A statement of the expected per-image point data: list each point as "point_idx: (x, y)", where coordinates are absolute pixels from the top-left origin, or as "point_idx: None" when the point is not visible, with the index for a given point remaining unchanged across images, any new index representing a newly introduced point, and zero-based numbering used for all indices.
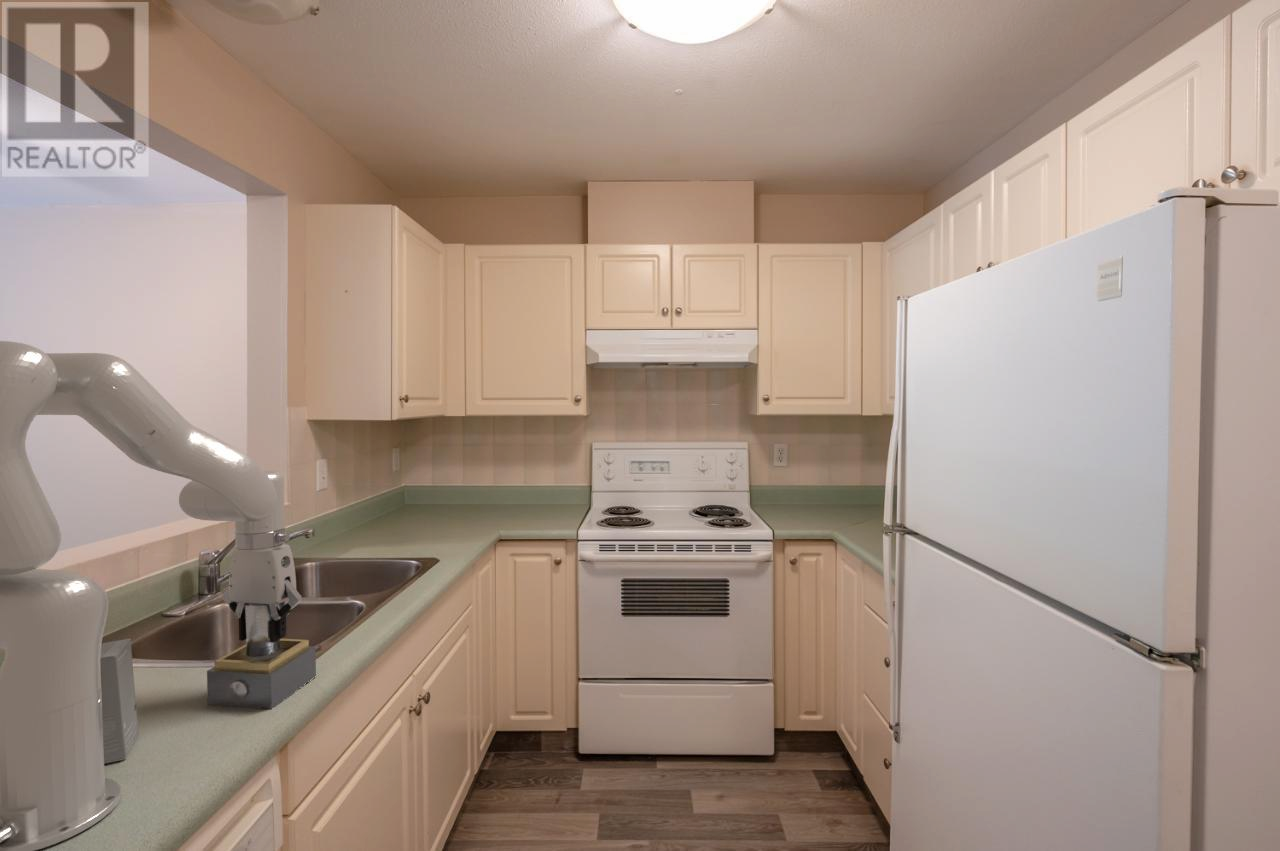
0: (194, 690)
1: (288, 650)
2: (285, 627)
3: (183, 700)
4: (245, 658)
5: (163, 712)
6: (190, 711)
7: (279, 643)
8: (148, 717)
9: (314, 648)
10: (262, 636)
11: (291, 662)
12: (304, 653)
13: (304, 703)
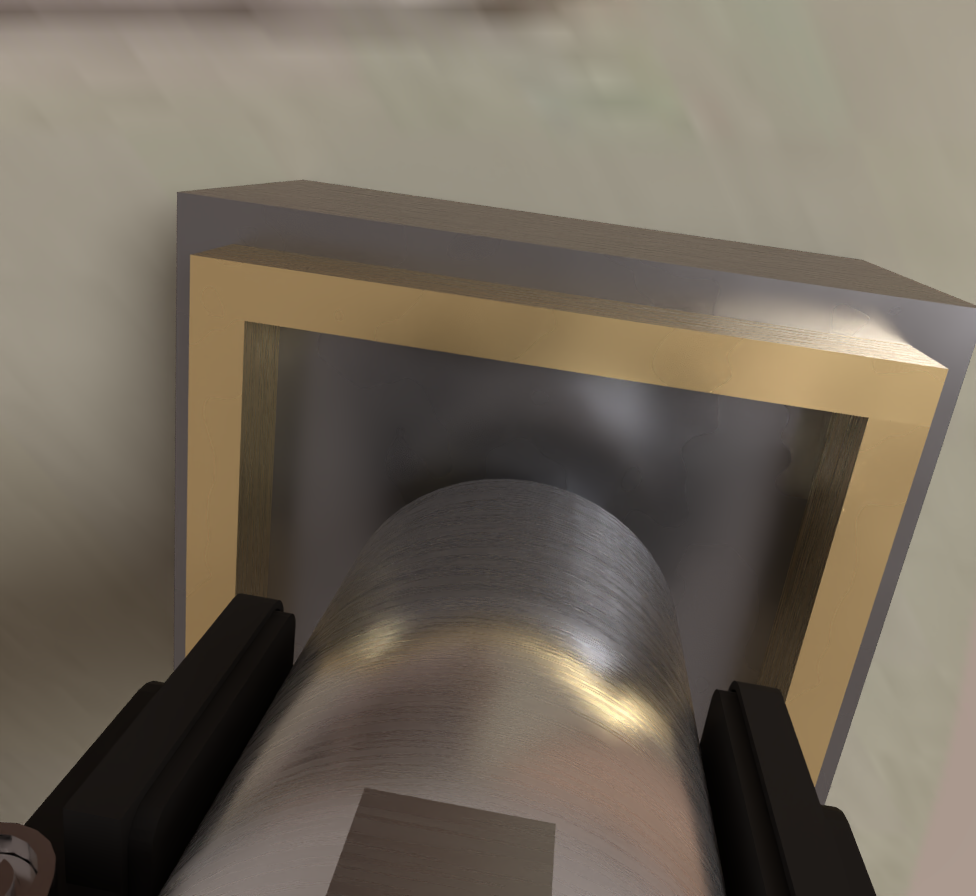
0: (29, 439)
1: (817, 673)
2: (856, 874)
3: (76, 567)
4: (328, 582)
5: (85, 694)
6: None
7: (681, 645)
8: (51, 736)
9: (974, 327)
10: None
11: (860, 690)
12: (920, 501)
13: (938, 664)
